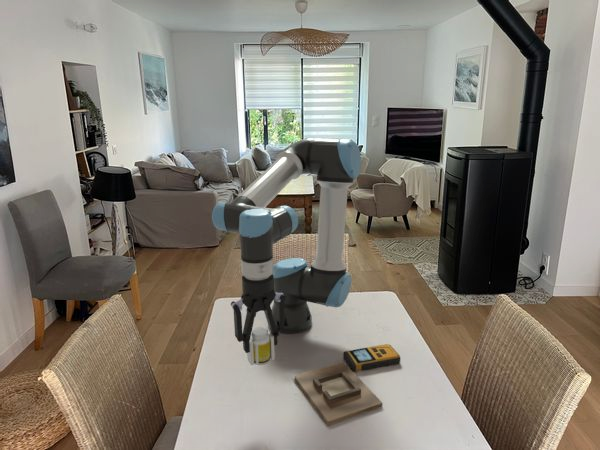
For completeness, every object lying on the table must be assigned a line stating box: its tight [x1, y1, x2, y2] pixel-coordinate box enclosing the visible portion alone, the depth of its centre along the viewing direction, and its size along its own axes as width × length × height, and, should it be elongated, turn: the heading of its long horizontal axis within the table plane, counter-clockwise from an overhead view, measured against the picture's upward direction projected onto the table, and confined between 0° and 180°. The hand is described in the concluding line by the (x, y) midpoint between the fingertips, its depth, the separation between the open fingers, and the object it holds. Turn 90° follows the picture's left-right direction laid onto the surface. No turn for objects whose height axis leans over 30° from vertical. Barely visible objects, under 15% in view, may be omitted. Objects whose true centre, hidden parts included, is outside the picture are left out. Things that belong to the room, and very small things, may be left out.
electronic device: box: [342, 343, 401, 373], centre depth 133 cm, size 8×16×3 cm, turn 106°
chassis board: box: [293, 361, 383, 426], centre depth 119 cm, size 20×16×3 cm
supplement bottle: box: [250, 326, 271, 366], centre depth 110 cm, size 5×5×8 cm
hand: (261, 359), depth 111 cm, fingers closed on supplement bottle, 5 cm apart
